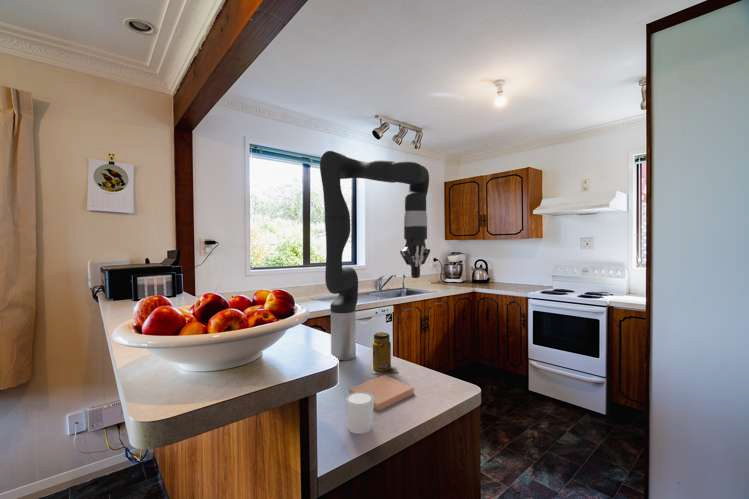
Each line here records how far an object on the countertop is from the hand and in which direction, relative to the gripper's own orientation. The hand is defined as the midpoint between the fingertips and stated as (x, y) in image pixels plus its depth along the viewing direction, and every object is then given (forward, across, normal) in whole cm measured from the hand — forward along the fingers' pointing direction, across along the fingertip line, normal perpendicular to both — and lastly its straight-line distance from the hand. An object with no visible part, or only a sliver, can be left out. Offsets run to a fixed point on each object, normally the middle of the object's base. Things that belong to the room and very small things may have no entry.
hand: (415, 277), depth 112 cm
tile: (+30, +13, +5) cm, 33 cm away
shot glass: (+31, +35, +13) cm, 49 cm away
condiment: (+31, +7, -8) cm, 33 cm away
